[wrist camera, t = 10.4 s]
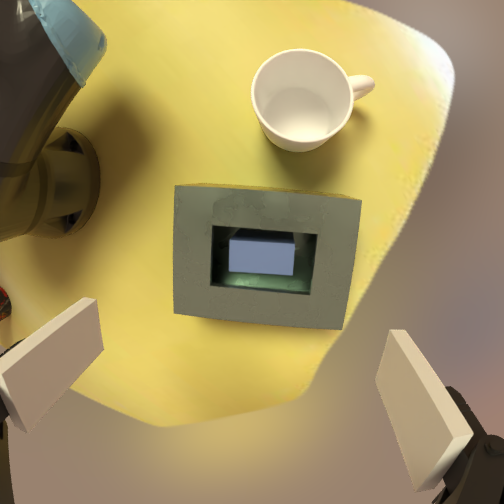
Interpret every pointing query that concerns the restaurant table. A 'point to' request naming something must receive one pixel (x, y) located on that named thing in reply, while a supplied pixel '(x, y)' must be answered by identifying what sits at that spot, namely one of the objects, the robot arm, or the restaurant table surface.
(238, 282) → the coin box
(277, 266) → the blue block
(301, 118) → the mug
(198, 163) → the restaurant table surface
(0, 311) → the deodorant
